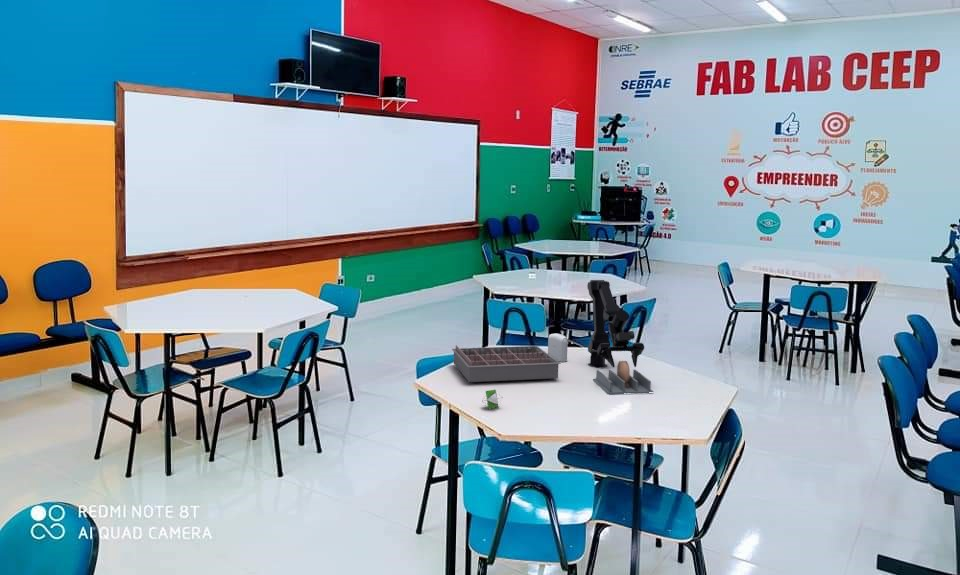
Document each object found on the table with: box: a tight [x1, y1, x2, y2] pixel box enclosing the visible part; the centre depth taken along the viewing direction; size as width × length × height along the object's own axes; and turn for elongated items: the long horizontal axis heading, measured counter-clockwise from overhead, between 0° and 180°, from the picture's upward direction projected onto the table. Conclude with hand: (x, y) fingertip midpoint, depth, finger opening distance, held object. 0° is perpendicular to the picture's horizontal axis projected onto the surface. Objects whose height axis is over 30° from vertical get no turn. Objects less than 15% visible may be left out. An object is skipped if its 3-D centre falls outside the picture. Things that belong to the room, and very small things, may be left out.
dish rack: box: [592, 369, 654, 395], centre depth 311 cm, size 20×19×5 cm
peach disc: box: [616, 360, 631, 387], centre depth 311 cm, size 9×3×10 cm, turn 9°
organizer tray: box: [451, 344, 562, 383], centre depth 328 cm, size 32×40×10 cm
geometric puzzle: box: [483, 389, 504, 409], centre depth 280 cm, size 7×7×8 cm
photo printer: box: [547, 333, 569, 363], centre depth 353 cm, size 10×4×12 cm, turn 39°
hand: (624, 366), depth 309 cm, fingers open, 9 cm apart
